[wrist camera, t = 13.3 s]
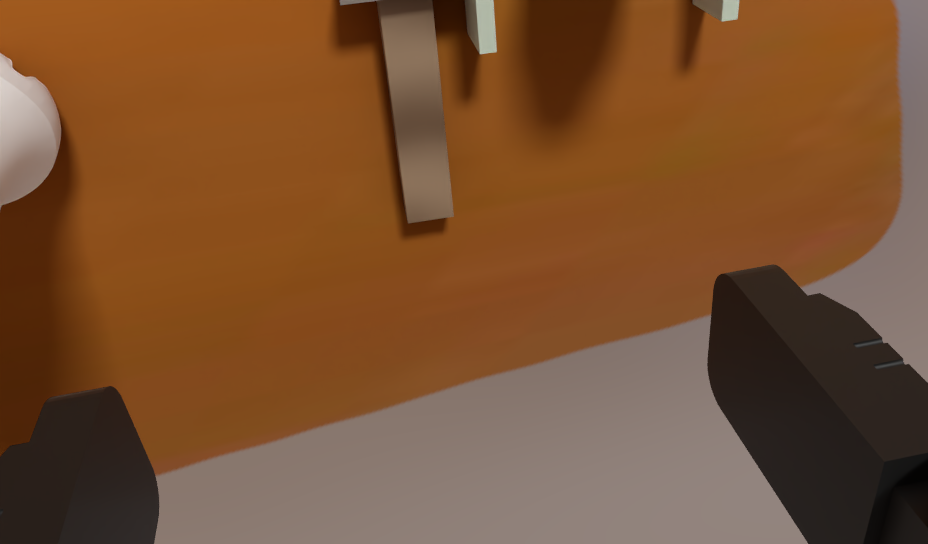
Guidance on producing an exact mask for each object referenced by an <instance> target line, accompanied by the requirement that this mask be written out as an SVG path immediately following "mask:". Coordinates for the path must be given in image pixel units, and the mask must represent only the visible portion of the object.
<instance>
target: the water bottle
mask: <svg viewBox="0 0 928 544" xmlns="http://www.w3.org/2000/svg"><path fill="white" fill-rule="evenodd" d="M60 140H61V124H60V118H59V113H58V110H57V107H56V105H55V102H54V99H53V98H52V96H51V94H50V92H49V91H48V89H47V88H46V86H45V85H44V84H42V83H41V82H40V81H38V79H37V78H35V77H25V76H23V75H21V74H19V73H18V72H17V71H15V70H14V69H13V67H12V61H11V59H9V58H7V57H6V56H4V55H3V54H1V53H0V210H1V206H2V205H4V204H7V203H10V202H13V201H15V200H18V199H20V198H22V197H24V196H25V195H27V194H29V193H30V192H32V191H33V190H34V189H36V188H37V187H38V186H39V185H40V184H41V183H42V182H43V181H44V180H45V179H46V177H47V176H48V175H49V173H50V171H51V169H52V168H53V166H54V163H55V160H56V157H57V154H58V150H59V146H60Z"/></svg>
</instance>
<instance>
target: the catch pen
mask: <svg viewBox="0 0 928 544" xmlns="http://www.w3.org/2000/svg"><path fill="white" fill-rule="evenodd" d="M693 5H695V6H697V7H698V8H700V9H702V10H703V11H705V12H707V13H708V14H710V15H712V16H713V17H715V18H717V19H718V20H720V21H729V20H736V19H738V8H739V0H693ZM465 10H466V22H467V34H468V36H469V37H470V39H471V40H472V42H473V44H474V45H475V47H476V49H477V50H478V52H479V54H485V53H492V52H497V49H496V33H495V18H494V2H493V0H465Z"/></svg>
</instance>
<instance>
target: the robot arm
mask: <svg viewBox="0 0 928 544" xmlns="http://www.w3.org/2000/svg"><path fill="white" fill-rule="evenodd" d="M708 375H709V380H710V385H711V388H712V391H713V394H714V397H715V399H716V401H717V403H718V405H719V407H720V409H721V410H722V412H723V413H724V415H725V416H726V418H727V419H728V421H729V422H730V424H731V425H732V427H733V428H734V430H735V432H736V433H737V435H738V436H739V438H740V439H741V441H742V442H743V444H744V445H745V447H746V448H747V450H748V452H749V453H750V455H751V456H752V458H753V459H754V461H755V462H756V464H757V465H758V467H759V468H760V470H761V472H762V473H763V475H764V476H765V478H766V479H767V481H768V482H769V484H770V485H771V487H772V488H773V490H774V491H775V493H776V495H777V496H778V498H779V499H780V500H781V502H782V504H783V505H784V507H785V508H786V510H787V511H788V513H789V515H790V516H791V518H792V519H793V521H794V522H795V524H796V525H797V527H798V528H799V530H800V531H801V533H802V535H803V536H804V537H805V539H806V541H807V542H808V544H928V383H927V382H926V381H925V380H924V379H923V378H922V377H921V376H920V375H919V374H918V373H917V372H916V371H915V370H914V369H913V368H912V367H911V366H910V365H909V364H907V365H905V364H904V362H903V358H902V357H901V356H900V355H899V354H898V353H897V352H896V351H895V350H894V349H893V348H892V347H891V346H890V345H889V344H888V343H883V341H882V337H881V336H880V335H879V334H878V333H877V332H876V331H875V330H874V329H873V328H872V327H871V326H870V325H869V324H868V323H867V322H866V321H865V320H864V319H863V318H862V317H861V316H860V315H859V314H858V313H857V312H855V311H853V310H851V309H849V308H847V307H845V306H843V305H842V304H840V303H838V302H836V301H834V300H832V299H830V298H828V297H826V296H824V295H822V294H820V293H819V294H814V295H809V296H807V295H806V294H805V293H804V292H803V290H802V289H801V288H800V287H799V286H798V285H797V284H796V283H795V282H794V281H793V280H792V279H791V278H790V277H789V276H788V275H787V274H786V272H785V271H784V270H783V269H781V268H780V267H779V266H777V265H767V266H762V267H757V268H751V269H746V270H741V271H735V272H730V273H725V274H721V275H719V276H718V277H717V279H716V281H715V284H714V290H713V302H712V314H711V326H710V338H709V350H708ZM158 516H159V494H158V487H157V481H156V477H155V474H154V470H153V468H152V465H151V463H150V461H149V459H148V456H147V454H146V452H145V449H144V447H143V445H142V443H141V440H140V438H139V436H138V433H137V431H136V429H135V427H134V424H133V422H132V420H131V418H130V415H129V413H128V411H127V408H126V406H125V404H124V402H123V399H122V397H121V395H120V394H119V392H118V391H117V390H116V389H115V388H114V387H111V386H109V387H103V388H98V389H92V390H87V391H82V392H76V393H71V394H66V395H60V396H55V397H50V398H49V399H47V401H46V402H45V403H44V405H43V408H42V410H41V413H40V416H39V418H38V421H37V423H36V426H35V429H34V431H33V434H32V436H31V439H30V442H28V443H23V444H18V445H12V446H10V447H9V448H8V449H7V450H6V451H5V452H4V453H3V454H2V456H1V457H0V544H154V540H155V534H156V529H157V523H158Z"/></svg>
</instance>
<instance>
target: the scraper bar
mask: <svg viewBox="0 0 928 544" xmlns="http://www.w3.org/2000/svg"><path fill="white" fill-rule="evenodd" d="M371 1H377V8H378V16H379V23H380V30H381V38H382V45H383V53H384V60H385V68H386V75H387V82H388V90H389V97H390V105H391V112H392V120H393V127H394V134H395V142H396V149H397V157H398V164H399V171H400V179H401V186H402V194H403V201H404V208H405V213H406V217H407V221H408V223H414V222H421V221H427V220H434V219H441V218H447V217H454V214H453V204H452V194H451V184H450V174H449V164H448V154H447V144H446V134H445V124H444V113H443V103H442V93H441V83H440V73H439V63H438V53H437V43H436V33H435V23H434V13H433V3H432V0H340V5H347V4H355V3H363V2H371Z"/></svg>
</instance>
